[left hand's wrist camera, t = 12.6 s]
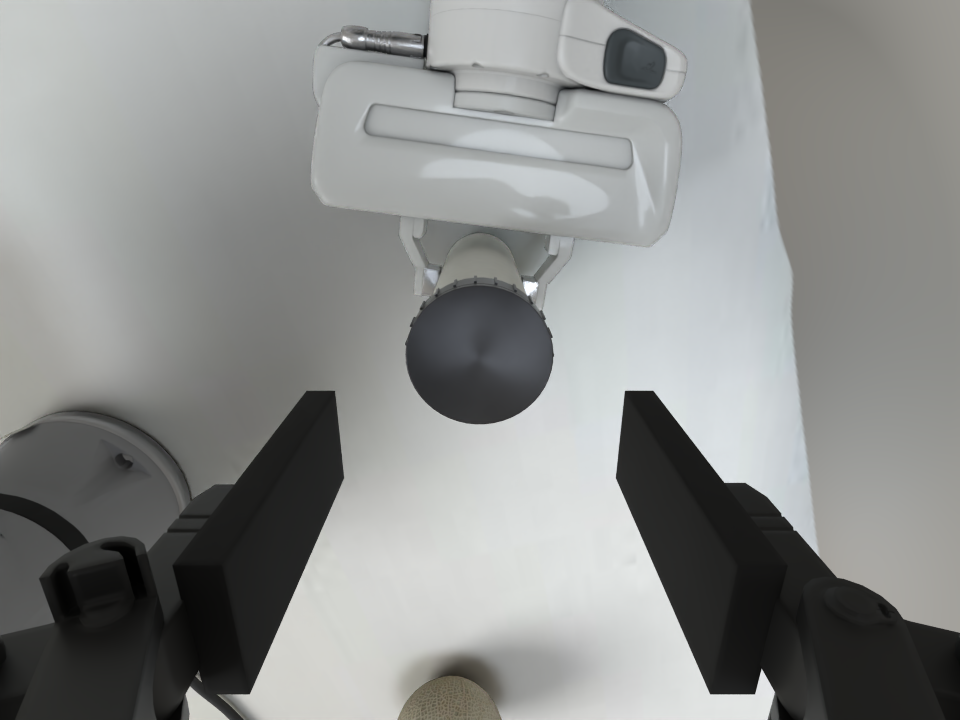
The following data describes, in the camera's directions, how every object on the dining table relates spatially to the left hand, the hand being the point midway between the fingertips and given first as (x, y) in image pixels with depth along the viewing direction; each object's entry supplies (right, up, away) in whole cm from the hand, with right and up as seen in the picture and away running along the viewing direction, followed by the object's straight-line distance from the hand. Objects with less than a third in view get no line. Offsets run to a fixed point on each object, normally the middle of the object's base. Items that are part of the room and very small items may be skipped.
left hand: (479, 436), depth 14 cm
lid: (0, +2, +6) cm, 7 cm away
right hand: (0, +6, +18) cm, 19 cm away
